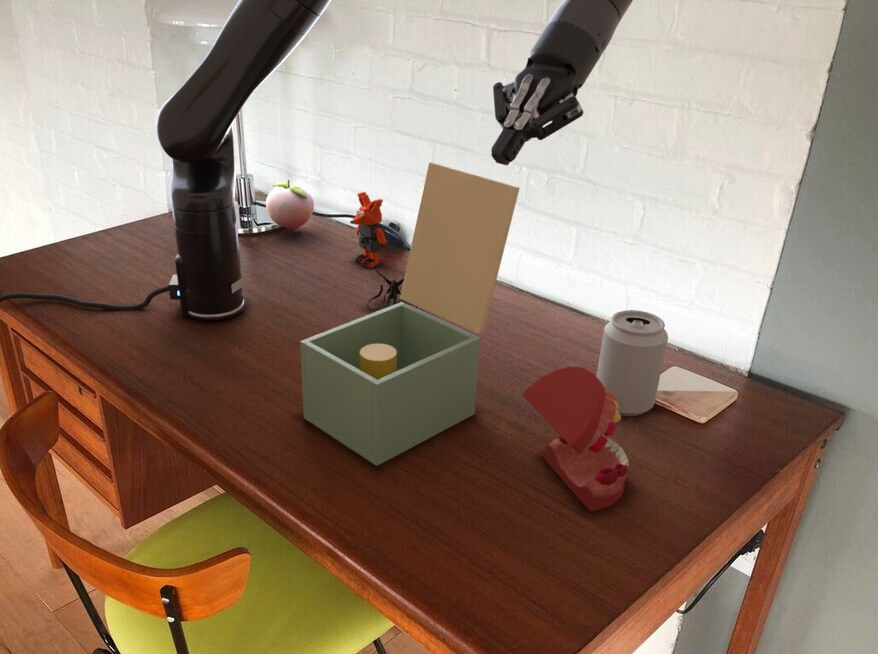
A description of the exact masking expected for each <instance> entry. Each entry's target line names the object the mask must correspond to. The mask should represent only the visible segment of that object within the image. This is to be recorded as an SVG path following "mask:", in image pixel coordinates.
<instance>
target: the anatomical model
mask: <svg viewBox="0 0 878 654" xmlns="http://www.w3.org/2000/svg"><path fill="white" fill-rule="evenodd" d="M522 396H523V398H524V399H525V400H526V401H527V402H528V403H529V404H530V405H531V406H532V407H533V409H535V411H537V412H538V414H539V415H541V417H542V419H544V421H546V422H547V423H548V424H549V425H550V426H551V428H553V430H554V431H556V432H557V434H558V435H559V437H558V438H555V439H554V440H552V441H551V442H549V443H548V444H546V445H545V449H544V457H543V458H544V460H545V461H546V462H547V463H548V465H549V466H550V467H551V468H552V470H553V471H554V472H555V473H556V475H558V477H559V478H560V479H561V480H562V481H563V483H564V484H565V485H566V486H567V487H568V488H569V490H571V492H572V493H573V494H574V496H576V497H577V499H579V501H581V503H582V504H583V505H584V506H585V507H586V509H588V511H589V512H590V513H592V512H597V511H599V510H603V509H606V508H608V507H610V506H612V505H614V504H615V503H616V502H618V501H619V500H620V499H621V497H622V496H623V494H624V490H625V484H626V483H625V481H626V479H627V477H628V471H629V470H628V468H629V466H630V460H629V458H627V457H628V456H627V454H626V453H625V450H624V449H623V448H622V447H621V446H620V445H619V444H618V443H616V442H615V441H613V440H612V439H610V438H608V437H609V436H613V434H614V431H615V430H616V423H618V422H620V421H621V419H622V416H620V414H619V412H618V408H619V406H618V404H617V402H616V399H615V396H614V395H613V393H611V392H610V391H608V390H607V389H606V387H605V386H603V384H602V382H601V381H600V380H599V379H598V378H597V375H596V374H595V373H593V372H592V371H591V370H589V369H587V368H585V367H582V366H566V367H562V368H558V369H555V370H553V371H551V372H549V373H546V374H545V375H543V376H542V377H540V378H538V379H537V380H536V381H535V382H533V383H532V384H531V385H530V386H529V387H527V389H525V390H524V391H523V392H522ZM606 436H607V437H606Z"/></svg>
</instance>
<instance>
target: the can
mask: <svg viewBox="0 0 878 654" xmlns="http://www.w3.org/2000/svg"><path fill="white" fill-rule="evenodd" d="M610 320H611V321H609V322H607V323H606V324H605V327H603V333H602V334H603V335H602V341H601V345H600V353H599V360H598V366H597V372H596V377H597V378H598V379H599V380H600V381H601V382H602V384H603V386H605V387H606V389H607V390H608V391H610V392H611V393H613V395H614V396H615V399H616V402H617V404H618V406H619V408H618V412H619V414H620V416H621V417H636V416H641V415H643V414H644V413H646V412H648V411H650V410H652V409H653V408H654V406H655V402H656V399H657V394H658V389H659V385H660V380H661V379H660V378H661V374H662V370H663V365H664V361H665V355H666V350H667V345H668V339H669V334H668V331H666V329H665V327H666V324H665V321H664V320H663V319H662V318H661V317H660V316H658V315H656V314H654V313H650V312H648V311H644V310H636V309H635V310H634V309H628V310H626V309H625V310H621V311H618V312H616V313H613V314H612V316H611V318H610Z"/></svg>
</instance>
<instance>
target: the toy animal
mask: <svg viewBox="0 0 878 654" xmlns="http://www.w3.org/2000/svg"><path fill="white" fill-rule="evenodd" d="M357 198H358V201H359V204H360V207H359V208H358V209H356V214H355V217H353V218H352V220H350V221H349V223H350V224H351V225H356V226H357V227H356V228H355V232H356V234H357V236H358V246H359V247H360V248H362V249H363V253H362V254H358V255H357V257H355V258H356V259H354V263H356V264H358V265H359V264H361V267H363V268H374V267H375V266H377V265H379V264H380V257H379V252H381V251H382V250H383V248H384V247H386V244H387V239H386V237H385V234H384V225H383V224H382V221H383V214H382V210H381V207H382V205H383V202H384V200H383V198H378V199H374V200H371V198H370V196H369V194H367V193H366V191H361V192H358V193H357Z"/></svg>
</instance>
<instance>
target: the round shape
mask: <svg viewBox="0 0 878 654" xmlns="http://www.w3.org/2000/svg"><path fill="white" fill-rule="evenodd" d="M360 370H361V371H363V372H364V373H366V374H368V375H370V376H371V377H373V378H375V379H377V380H378V379H381V378H383V377H385V376H387V375H390V374H392V373H394V372H396V371H397V351H396V349H395V348H394V347H392V346H390V345H387V344H370V345H366V346H364V347H363V348H362V349H361V350H360Z"/></svg>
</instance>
